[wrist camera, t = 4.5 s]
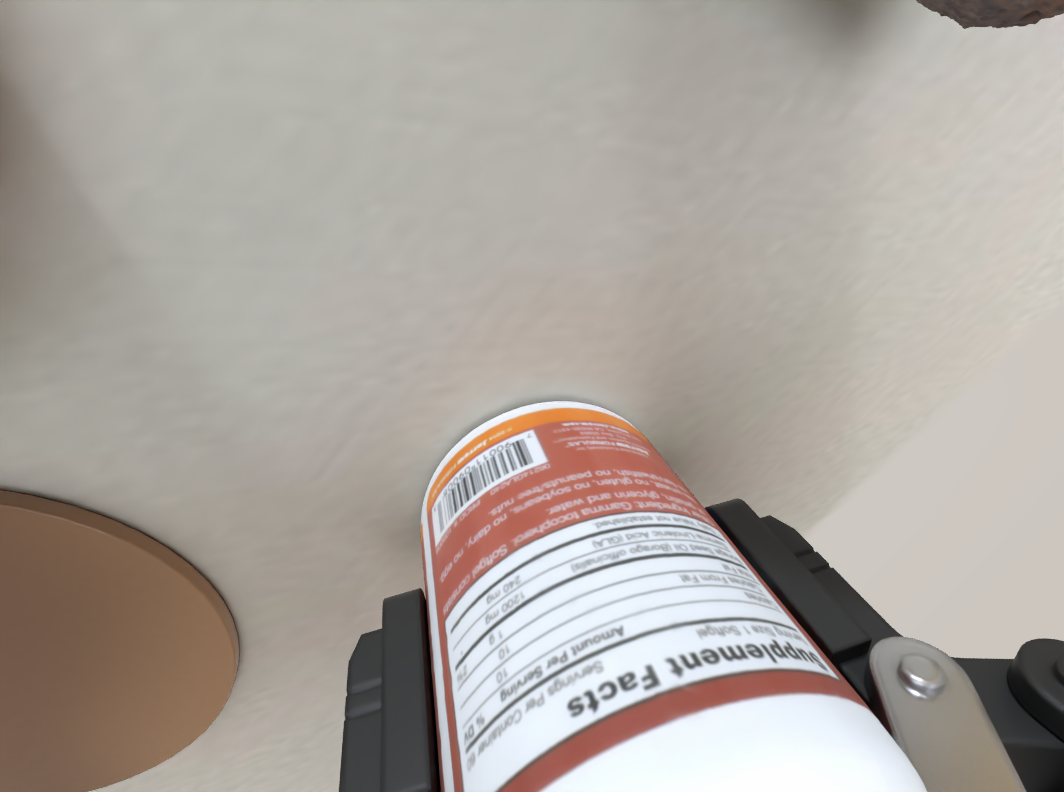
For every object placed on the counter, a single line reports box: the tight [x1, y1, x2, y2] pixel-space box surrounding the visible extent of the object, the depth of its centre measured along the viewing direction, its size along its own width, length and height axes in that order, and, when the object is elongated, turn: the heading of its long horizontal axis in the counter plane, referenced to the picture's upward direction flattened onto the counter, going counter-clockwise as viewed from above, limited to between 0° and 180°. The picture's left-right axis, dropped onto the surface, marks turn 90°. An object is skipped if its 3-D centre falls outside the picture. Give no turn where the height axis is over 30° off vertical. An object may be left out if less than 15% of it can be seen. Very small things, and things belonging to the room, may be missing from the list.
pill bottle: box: [421, 401, 927, 792], centre depth 8 cm, size 6×6×11 cm
